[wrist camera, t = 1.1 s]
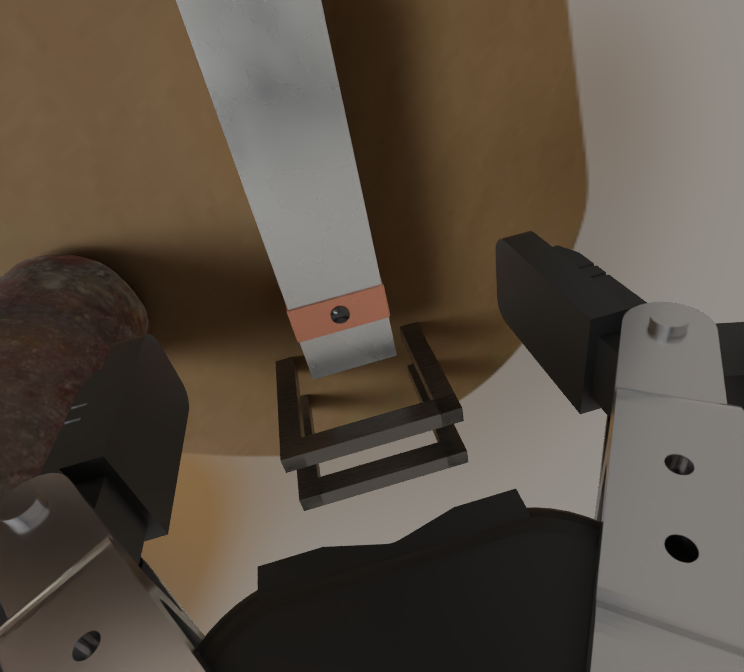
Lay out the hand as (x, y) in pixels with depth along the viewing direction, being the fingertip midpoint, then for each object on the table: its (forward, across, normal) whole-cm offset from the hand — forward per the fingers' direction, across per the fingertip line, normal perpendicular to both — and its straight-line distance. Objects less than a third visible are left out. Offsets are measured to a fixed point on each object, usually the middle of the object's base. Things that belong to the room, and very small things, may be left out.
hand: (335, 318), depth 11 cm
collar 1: (+16, 0, +13) cm, 21 cm away
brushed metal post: (+17, 0, +2) cm, 17 cm away
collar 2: (+16, 0, +17) cm, 23 cm away
